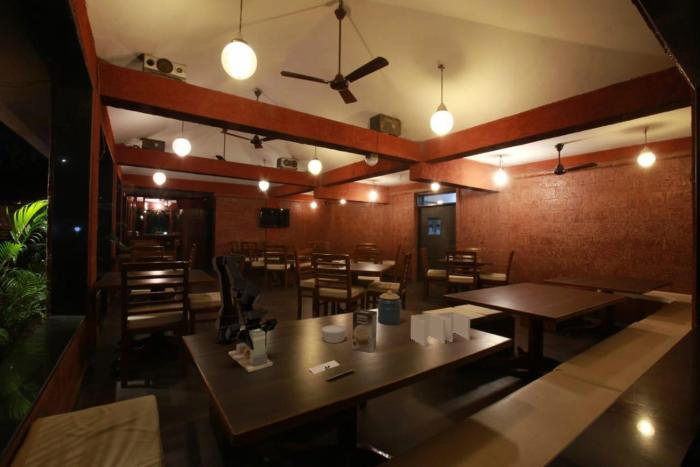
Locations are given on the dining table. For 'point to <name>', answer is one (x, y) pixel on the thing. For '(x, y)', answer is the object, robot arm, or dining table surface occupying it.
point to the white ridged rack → (245, 350)
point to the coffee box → (364, 330)
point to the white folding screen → (439, 326)
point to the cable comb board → (247, 361)
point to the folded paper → (325, 368)
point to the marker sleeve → (257, 344)
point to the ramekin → (334, 333)
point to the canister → (389, 309)
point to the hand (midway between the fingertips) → (259, 348)
